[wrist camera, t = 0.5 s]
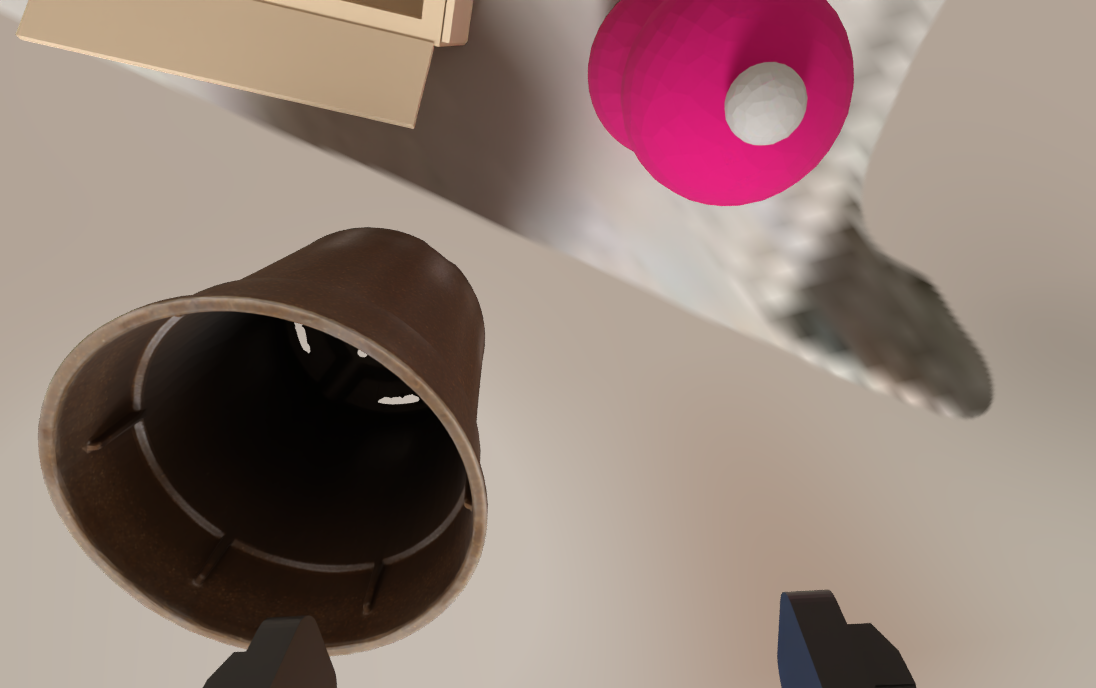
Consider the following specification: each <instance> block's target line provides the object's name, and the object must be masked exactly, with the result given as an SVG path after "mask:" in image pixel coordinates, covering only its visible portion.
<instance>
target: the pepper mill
mask: <svg viewBox="0 0 1096 688" xmlns="http://www.w3.org/2000/svg"><path fill="white" fill-rule="evenodd" d="M588 84H589V92H590V96H591V100H592V104H593V106H594V109H595V111H596V114H597V116H598V118H599V119H600V121H601V122H602V124H603V126H604V127H605V128H606V130H607V131H608V132H609V133H610V134H611V135H612V137H614V138H615V139H616V140H617V141H618V142H620V143H621V144H622V145H624V146H625V147H627V148H629V149H630V150H632V151H634V152H635V154H636V156H637V158H638V160H639V161H640V162H641V164H642V165H643V166H644V167H645V169H646V170H647V171H648V172H649V173H650V174H651V175H652V177H653V178H654V179H655V180H657V181H658V182H659V183H661V184H662V185H664V186H665V187H667V188H668V189H670V190H671V191H673V192H675V193H677V194H679V195H681V196H683V197H685V198H687V199H689V200H692V201H695V202H699V203H703V204H707V205H717V206H738V205H744V204H748V203H753V202H758V201H762V200H765V199H767V198H769V197H772V196H774V195H776V194H778V193H781V192H783V191H784V190H786V189H787V188H789V187H790V186H792V185H794V184H795V183H797V182H798V181H799V180H801V179H802V178H803V177H804V176H805V175H807V174H808V173H809V172H810V171H811V170H813V169H814V168H815V167H816V166H817V165H818V163H819V162H820V161H821V160H822V159H823V157H824V156H825V155H826V154H827V152H828V151H829V150H830V148H831V146H832V145H833V143H834V141H835V140H836V138H837V136H838V135H839V133H840V131H841V129H842V126H843V124H844V122H845V119H846V117H847V115H848V111H849V107H850V102H851V97H852V92H853V84H854V70H853V57H852V51H851V47H850V44H849V40H848V36H847V32H846V30H845V28H844V26H843V24H842V22H841V20H840V18H839V16H838V14H837V12H836V11H835V10H834V9H833V8H832V6H831V5H830V4H829V3H828V2H827V0H621V1H620V2H618V3H617V4H616V5H615V7H614V8H613V9H612V10H611V11H610V12H609V14H608V15H607V16H606V18H605V20H604V21H603V23H602V24H601V26H600V28H599V30H598V32H597V35H596V37H595V39H594V42H593V44H592V48H591V53H590V58H589V63H588Z"/></svg>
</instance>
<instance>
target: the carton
mask: <svg viewBox="0 0 1096 688" xmlns="http://www.w3.org/2000/svg"><path fill="white" fill-rule="evenodd" d="M472 7H473V0H29V1H28V3H27V6H26V9H25V11H24V14H23V17H22V19H21V22H20V24H19V27H18V30H17V33H16V35H17V36H18V37H19V38H20V39H21V40H25V41H30V42H34V43H39V44H42V45H47V46H51V47H56V48H60V49H64V50H69V51H73V52H78V53H82V54H86V55H91V56H95V57H100V58H104V59H108V60H113V61H117V62H122V63H126V64H130V65H135V66H139V67H144V68H148V69H152V70H157V71H161V72H166V73H170V74H174V75H179V76H183V77H188V78H192V79H196V80H201V81H205V82H210V83H214V84H218V85H223V86H227V87H232V88H236V89H240V90H245V91H249V92H254V93H258V94H262V95H267V96H271V97H276V98H280V99H284V100H289V101H293V102H297V103H302V104H306V105H311V106H315V107H319V108H324V109H328V110H333V111H337V112H341V113H346V114H350V115H355V116H359V117H363V118H368V119H372V120H377V121H381V122H385V123H390V124H394V125H399V126H403V127H407V128H412V129H414V127H415V123H416V119H417V115H418V111H419V107H420V103H421V99H422V95H423V91H424V87H425V83H426V79H427V75H428V71H429V67H430V63H431V59H432V55H433V51H434V46H438V47H443V46H457V45H465V43H466V42H467V41H468V34H469V27H470V21H471V14H472Z"/></svg>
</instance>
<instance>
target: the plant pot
mask: <svg viewBox="0 0 1096 688" xmlns="http://www.w3.org/2000/svg"><path fill="white" fill-rule="evenodd" d="M294 322H296V323H300V324H303V325H302V327H304V329H305V332H306V337H307V343H308V344H309V346H310V353H307V352H306V351H305V350H303V348H302V346H301V344H300V341H299V339H298V336H297V332H296V329H295V324H294ZM484 347H485V328H484V321H483V315H482V311H481V308H480V305H479V302H478V299H477V297H476V295H475V293H474V291H473V289H472V287H471V285H470V284H469V282H468V280H467V279H466V277H465V276H464V275H463V273H462V272H461V271H460V269H459V268H458V267H457V266H456V265H455V264H453V263H452V262H450V261H448V260H447V259H446V258H444V257H443V256H442V255H441V254H440V253H438V252H437V251H436V250H434V249H433V248H432V247H430V246H429V245H428V244H427V243H426V242H425V241H423V240H421V239H419V238H416V237H414V236H411V235H409V234H406V233H403V232H400V231H395V230H390V229H384V228H370V227H365V228H353V229H347V230H343V231H338V232H335V233H332V234H329V235H326V236H324V237H322V238H320V239H318V240H316V241H315V242H313V243H311V244H310V245H308V246H306V247H304V248H302V249H300V250H298V251H296V252H295V253H292V254H290V255H288V256H287V257H285V258H283V259H281V260H279V261H277V262H275V263H273V264H271V265H269V266H267V267H265V268H263V269H261V270H259V271H257V272H255V273H253V274H251V275H249V276H247V277H245V278H243V279H241V280H237V281H232V282H227V283H223V284H220V285H216V286H213V287H210V288H208V289H205V290H203V291H200V292H198V293H196V294H194V295H188V296H180V297H175V298H170V299H166V300H162V301H158V302H154V303H151V304H148V305H146V306H143V307H140V308H137V309H134V310H132V311H130V312H128V313H126V314H124V315H121V316H119V317H117V318H115V319H113V320H112V321H110V322H108V323H106V324H104V325H103V326H101V327H100V328H98V329H97V330H95V331H94V332H92V333H91V334H89V335H88V336H87V337H86V338H85V339H83V340H82V341H81V342H80V343H79V344H78V345H77V346H76V347H75V348H74V349H73V350H72V351H71V352H70V354H69V355H68V356H67V357H66V358H65V359H64V361H63V362H62V364H61V365H60V367H59V368H58V370H57V371H56V373H55V375H54V377H53V378H52V380H51V382H50V384H49V387H48V390H47V392H46V395H45V398H44V402H43V405H42V409H41V414H40V420H39V426H38V427H39V428H38V445H39V456H40V463H41V469H42V473H43V477H44V481H45V484H46V487H47V490H48V492H49V495H50V498H51V500H52V502H53V504H54V506H55V508H56V510H57V512H58V514H59V516H60V518H61V520H62V521H63V523H64V525H65V526H66V527H67V529H68V531H69V532H70V534H71V535H72V537H73V538H74V539H75V541H76V542H77V544H78V545H79V546H80V547H81V549H82V550H83V551H84V552H85V553H86V554H87V556H88V557H89V558H90V559H91V560H92V561H93V562H94V563H95V564H96V565H97V566H98V567H99V568H100V569H101V570H102V571H103V572H104V573H105V574H106V575H107V576H108V577H109V578H110V579H111V580H112V581H113V582H115V584H117V585H118V586H119V587H120V588H122V589H123V590H124V591H125V592H127V593H128V594H129V595H131V596H132V597H133V598H135V599H136V600H137V601H138V602H140V603H141V604H142V605H144V606H145V607H147V608H148V609H150V610H152V611H153V612H155V613H157V614H159V615H160V616H162V617H164V618H165V619H167V620H169V621H171V622H173V623H175V624H177V625H179V626H181V627H183V628H185V629H187V630H189V631H192V632H194V633H197V634H199V635H202V636H204V637H207V638H210V639H213V640H216V641H218V642H221V643H224V644H227V645H232V646H235V647H240V648H243V649H248V647H249V645H250V643H251V641H252V639H253V637H254V635H255V634H256V632H257V630H258V628H259V626H260V625H261V623H262V622H263V621H264V620H265V619H267V618H271V617H289V616H308V615H310V616H312V617H313V618H314V619H315V620H316V623H317V625H318V628H319V630H320V633H321V636H322V638H323V641H324V644H325V646H326V649H327V652H328V654H329V656H339V655H348V654H354V653H359V652H364V651H369V650H372V649H376V648H379V647H382V646H385V645H388V644H391V643H394V642H396V641H399V640H401V639H403V638H405V637H407V636H409V635H411V634H412V633H414V632H416V631H418V630H420V629H421V628H423V627H424V626H426V625H427V624H429V623H430V622H432V621H433V620H434V619H435V618H437V617H438V616H439V615H440V614H442V613H443V612H444V611H445V610H446V609H447V608H448V607H449V606H450V605H451V604H452V603H453V602H454V601H455V600H456V598H457V597H458V596H459V595H460V594H461V592H462V591H463V590H464V588H465V586H466V585H467V583H468V582H469V580H470V579H471V577H472V575H473V573H474V571H475V569H476V567H477V565H478V562H479V559H480V557H481V554H482V550H483V546H484V541H485V536H486V530H487V507H488V503H487V493H486V486H485V480H484V476H483V472H482V468H481V465H480V442H479V433H478V427H477V423H476V420H477V408H478V397H479V388H480V377H481V369H482V360H483V354H484ZM358 350H361V351H363V352H364V353H366V354H368V355H367V356H366V357H360V356H359V355H358V354H357V352H358ZM411 394H413V395H415V396H417V397H419V401H418V402H414V403H407V404H394V405H392V404H382V403H378V400H379V399H382V398H383V397H390V398H392V397H399V396H400V397H402V398H403V397H404V396H406V395H411Z"/></svg>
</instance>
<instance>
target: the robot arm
mask: <svg viewBox="0 0 1096 688" xmlns="http://www.w3.org/2000/svg"><path fill="white" fill-rule="evenodd" d="M777 654H778V655H777V659H778V669H779V676H780V682H781V686H782V688H916V684H915V682H914V680H913V678H912V676H911V674H910V672H909V670H908V668H907V666H906V664H905V662H904V660H903V658H902V657H901V654H900V653H899V651H898V650H897V649H896V648H895V647H894V646H893V645H892V644H891V643H890V642H889V641H888V640H887V639H886V638H885V637H884V636H883V635H882V634H881V633H880V632H879V631H878V630H877V629H876V628H875V627H874V626H873V625H872V624H871V623H864V624H847V623H846V621H845V618H844V616H843V614H842V612H841V610H840V607H839V605H838V603H837V601H836V599H835V597H834V595H833V593H832V592H831V591H830V590H814V591H796V592H783V593H782V594H781V599H780V615H779V634H778V652H777ZM203 688H337V682H336V674H335V671H334V668H333V665H332V663H331V660H330V657H329V654H328V652H327V649H326V646H325V644H324V641H323V638H322V636H321V633H320V630H319V628H318V625H317V623H316V620H315V619H314V618H313V617H312V616H310V615H308V616H289V617H271V618H267V619H265V620H264V621H263V622H262V623H261V625H260V626H259V628H258V630H257V632H256V634H255V635H254V637H253V639H252V641H251V643H250V645H249V647H248V649H247V651H246V652H234V653H233V654H232V655H231V656H230V657H229V658H228V659H227V660H226V661H225V662H224V663H223V664H222V665H221V666H220V667H219V668H218V669H217V670H216V672H214V674H212V676H211V677H210V678H209V679H208V680H207V681H206V683H205V685H204V687H203Z"/></svg>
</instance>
